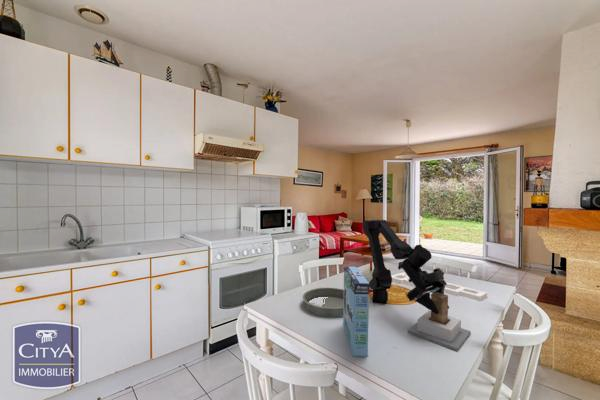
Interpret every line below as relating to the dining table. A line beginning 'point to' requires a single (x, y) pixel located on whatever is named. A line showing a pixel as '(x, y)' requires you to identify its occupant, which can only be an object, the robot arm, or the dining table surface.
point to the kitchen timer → (368, 274)
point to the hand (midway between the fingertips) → (443, 311)
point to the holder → (450, 288)
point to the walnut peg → (440, 308)
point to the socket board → (439, 341)
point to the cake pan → (326, 301)
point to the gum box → (356, 311)
